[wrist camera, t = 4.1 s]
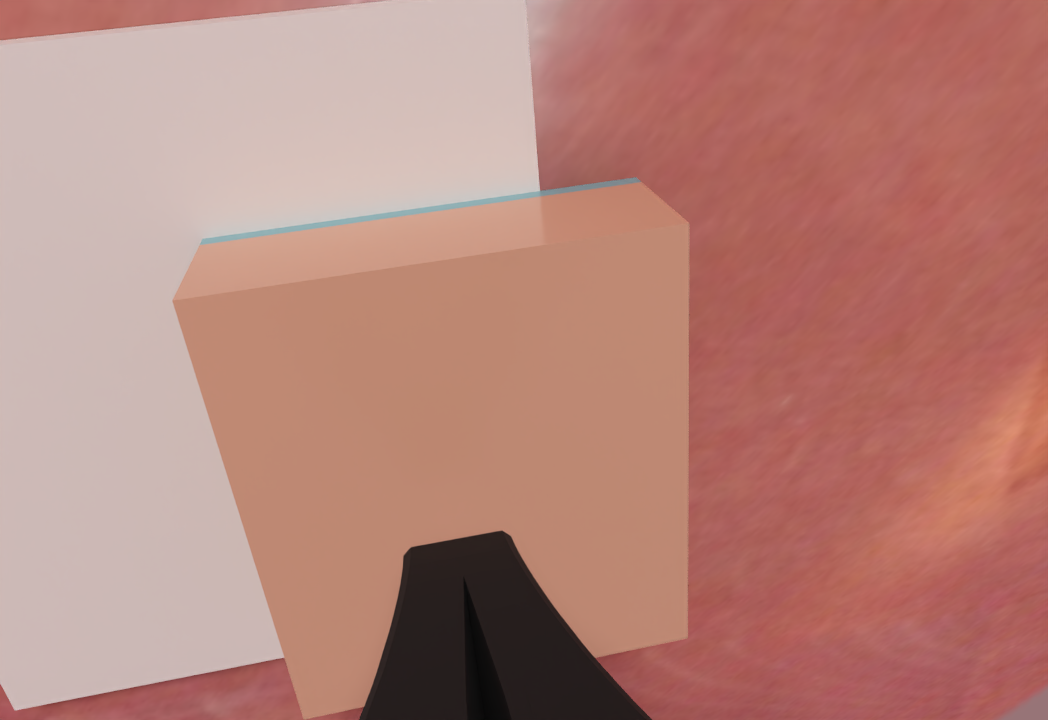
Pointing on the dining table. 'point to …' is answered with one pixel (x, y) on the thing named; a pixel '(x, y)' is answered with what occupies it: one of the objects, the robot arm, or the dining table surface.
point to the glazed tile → (453, 411)
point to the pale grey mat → (156, 273)
